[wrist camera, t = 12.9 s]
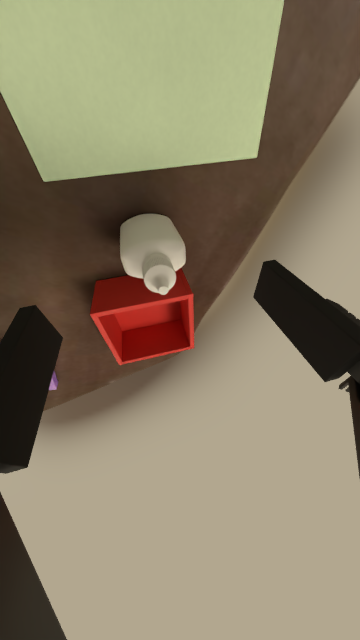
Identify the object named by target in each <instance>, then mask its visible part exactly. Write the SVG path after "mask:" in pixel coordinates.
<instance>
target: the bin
mask: <svg viewBox="0 0 360 640" xmlns="http://www.w3.org/2000/svg"><path fill="white" fill-rule="evenodd" d="M175 273H176V282H175V285H174V286H173V287H172V288H171V289H170V290H169V291H168V293H167V294H165V295H161V294H160V293H155V292H152V291H151V290H149V289H148V288H147V287H146V286H145V283H144V279H142V278H136V277H133V276H130V275H127V276H122V277H116V278H110V279H105V280H99V281H96V284H95V289H94V295H93V300H92V306H91V311H90V315H91V317H92V319H93V320H94V322H95V324H96V325H97V327H98V329H99V331H100V332H101V334H102V336H103V338H104V339H105V341H106V343H107V345H108V346H109V348H110V350H111V352H112V353H113V355H114V357H115V358H116V360H117V362H118V364H119V365H122V364H126V363H131V362H135V361H140V360H144V359H148V358H153V357H157V356H161V355H166V354H170V353H175V352H179V351H183V350H188V349H192V348H194V315H193V293H192V291H191V289H190V286H189V284H188V282H187V280H186V278H185V276H184V273H183V271H182V269H181V268H180V269H178V270H177V271H175Z"/></svg>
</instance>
